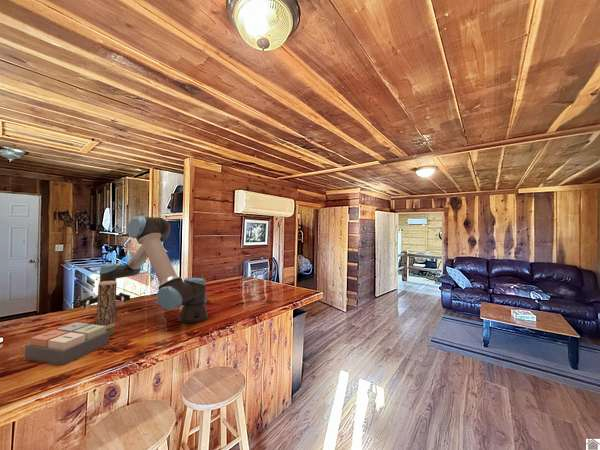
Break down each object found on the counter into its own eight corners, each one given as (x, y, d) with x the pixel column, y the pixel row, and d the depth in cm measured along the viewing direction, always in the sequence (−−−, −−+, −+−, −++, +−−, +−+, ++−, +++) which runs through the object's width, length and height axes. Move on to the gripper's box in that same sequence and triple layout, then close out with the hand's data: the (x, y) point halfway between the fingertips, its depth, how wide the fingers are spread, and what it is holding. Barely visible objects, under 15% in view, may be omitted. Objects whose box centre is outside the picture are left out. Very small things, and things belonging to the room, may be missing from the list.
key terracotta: (67, 339, 100) (68, 331, 100) (45, 347, 92) (46, 339, 93) (53, 337, 101) (53, 329, 101) (30, 345, 94) (30, 337, 94)
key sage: (105, 332, 107) (106, 325, 107) (88, 340, 99) (88, 332, 100) (91, 331, 108) (92, 324, 108) (73, 338, 101) (73, 330, 101)
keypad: (108, 343, 107) (109, 331, 108) (62, 365, 90) (63, 351, 90) (75, 338, 111) (76, 327, 111) (24, 358, 93) (25, 345, 93)
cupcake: (201, 305, 164) (201, 287, 164) (193, 302, 168) (194, 285, 168) (211, 302, 171) (212, 285, 171) (204, 300, 175) (204, 283, 176)
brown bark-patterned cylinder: (103, 339, 111) (106, 284, 111) (91, 337, 112) (94, 283, 113) (117, 333, 118) (120, 281, 118) (106, 331, 119) (108, 280, 119)
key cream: (85, 341, 98) (85, 334, 98) (63, 350, 91) (64, 342, 91) (70, 339, 100) (70, 332, 100) (48, 348, 92) (48, 340, 92)
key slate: (89, 330, 108) (89, 323, 108) (70, 338, 101) (71, 330, 101) (75, 328, 110) (76, 322, 110) (56, 335, 102) (56, 328, 102)
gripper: (133, 298, 143) (135, 308, 126) (76, 304, 127) (69, 317, 111) (134, 285, 143) (136, 293, 126) (76, 290, 128) (70, 300, 111)
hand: (105, 304), depth 118 cm, fingers open, 13 cm apart
